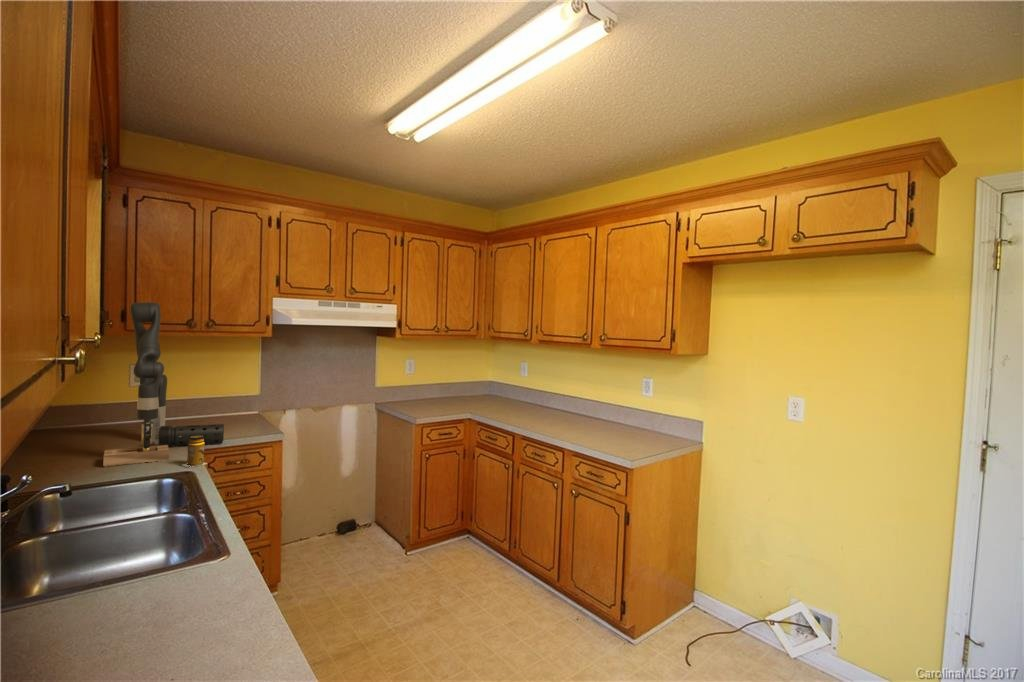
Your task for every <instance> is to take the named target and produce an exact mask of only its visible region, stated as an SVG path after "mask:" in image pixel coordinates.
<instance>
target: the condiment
mask: <svg viewBox="0 0 1024 682" xmlns="http://www.w3.org/2000/svg"><path fill="white" fill-rule="evenodd" d="M205 446H206V444H205V443H204V436H200V435H198V436H191V437H190V438H189V443H188V444H187V460H186V461H187V462H186V463H188V464H187V465H190V467H189V468H194V467H200V466H204V465H208V462H205ZM191 466H192V467H191Z"/></svg>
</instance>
